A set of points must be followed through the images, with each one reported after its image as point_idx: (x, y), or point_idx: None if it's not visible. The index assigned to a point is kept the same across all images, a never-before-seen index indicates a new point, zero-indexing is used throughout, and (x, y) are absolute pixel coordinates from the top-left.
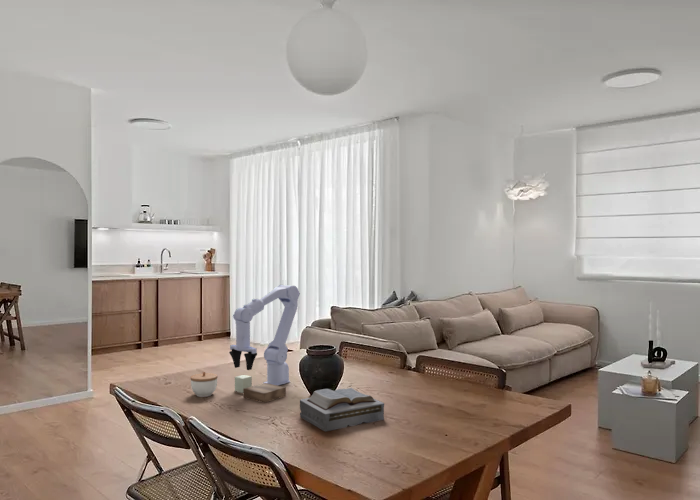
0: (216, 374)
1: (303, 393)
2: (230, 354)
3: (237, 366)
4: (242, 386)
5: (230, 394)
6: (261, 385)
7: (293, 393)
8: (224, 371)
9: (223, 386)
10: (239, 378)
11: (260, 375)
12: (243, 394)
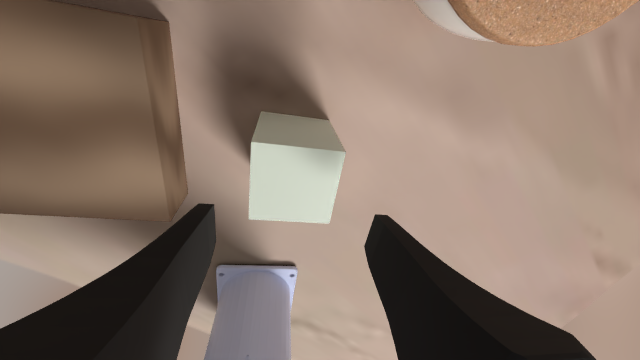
0: (485, 23)
1: (3, 251)
2: (529, 317)
3: (372, 235)
4: (259, 122)
5: (301, 44)
6: (123, 166)
7: (38, 230)
8: (524, 297)
9: (435, 158)
10: (290, 144)
11: (381, 320)
12: (158, 20)
